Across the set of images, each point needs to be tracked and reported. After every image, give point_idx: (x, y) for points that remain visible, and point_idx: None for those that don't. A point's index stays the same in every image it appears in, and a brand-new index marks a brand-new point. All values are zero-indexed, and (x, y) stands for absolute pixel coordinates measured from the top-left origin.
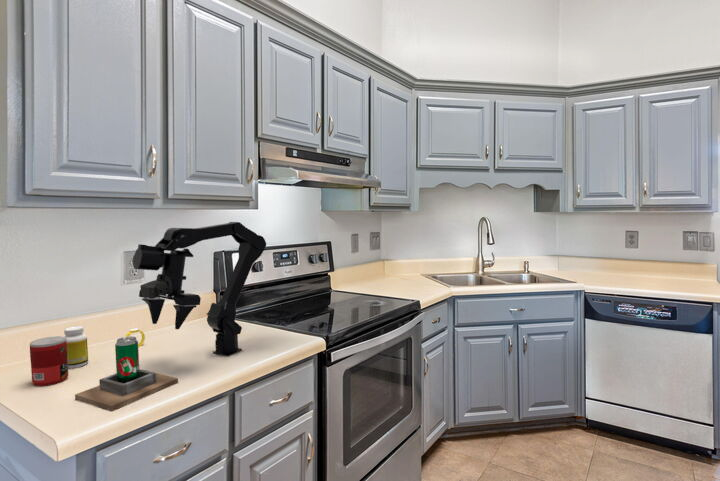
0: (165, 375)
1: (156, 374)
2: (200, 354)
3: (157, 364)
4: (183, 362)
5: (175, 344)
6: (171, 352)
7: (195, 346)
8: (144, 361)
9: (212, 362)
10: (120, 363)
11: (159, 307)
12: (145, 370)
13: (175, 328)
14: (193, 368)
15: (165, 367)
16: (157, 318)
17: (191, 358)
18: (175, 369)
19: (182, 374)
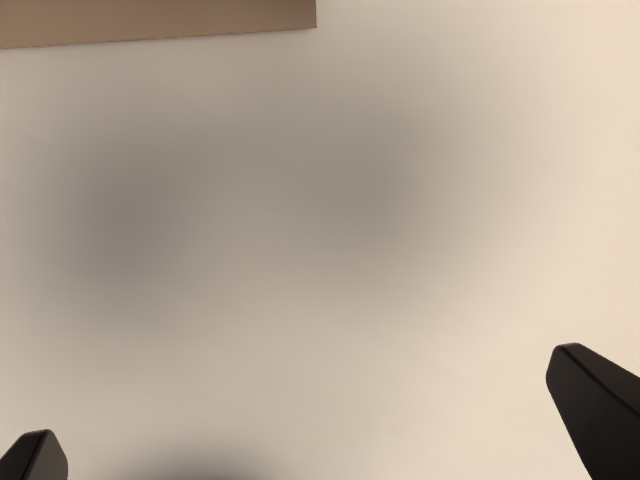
0: (6, 41)
1: (101, 15)
2: (298, 437)
3: (384, 200)
4: (263, 314)
5: (566, 430)
6: (484, 358)
7: (440, 477)
8: (508, 184)
9: (94, 416)
10: None
11: None
12: (275, 27)
13: (35, 435)
14: (91, 293)
15: (283, 198)
16: (591, 451)
17: (284, 376)
18: (183, 214)
19: (35, 185)
